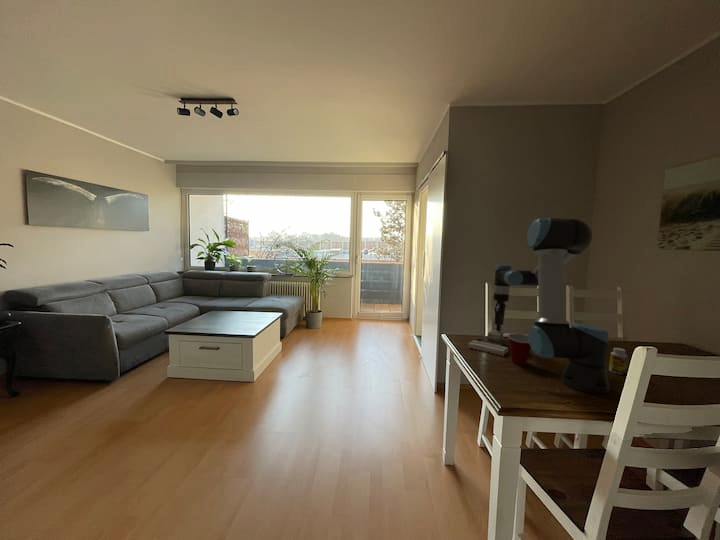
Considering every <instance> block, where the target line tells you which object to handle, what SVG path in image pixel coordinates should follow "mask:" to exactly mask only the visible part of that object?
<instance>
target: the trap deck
mask: <svg viewBox="0 0 720 540" xmlns="http://www.w3.org/2000/svg"><path fill="white" fill-rule="evenodd" d="M487 339H488V335H483V334H481V335H479V336H478V337H477V338H476V340H472V341H469V343H468V349H470V348H473V349H472V350H475V349H477V350H476V351H479V350H481V351H480V352H483V351H485V352H484V353H488V352H489V353H488V354H492V353H493V355H496V354H497V355H496V356H500V355H501V357H505V356H506V355H507V354H508V353H509V352H511V350H510V341H509V339H503V340H502V341H501V342H500V343H498V342H494V341H489V340H487ZM508 351H509V352H508ZM507 352H508V353H507ZM506 353H507V354H506ZM505 354H506V355H505ZM504 355H505V356H504Z"/></svg>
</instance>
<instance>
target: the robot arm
mask: <svg viewBox="0 0 720 540" xmlns="http://www.w3.org/2000/svg"><path fill="white" fill-rule="evenodd" d="M592 239H593V233H592V229H591V228H590V226H589V225H588V224H587V223H586V222H585V221H583V220H581V219H577V218H555V217H544V218H543V217H541V218H536V219H535V220H534V221H533V222H532V223H531V225H530V226H529V228H528V230H527V235H526V244H527V246H528V247H530V248H532V253H533V254H534V255H535V256H536V257H537V266H536V267H535V268H534V269H533V270H520V269H512V267H511V264H496V266H495V270H494V272H495V273H494V286H492V287H493V291H494V293H493V300H494V301H496V304H495V307H494V325H495V331H499V332H503V331H502V330H503V325H505V323H504V320H505V313H506V307H507V305H506V304H505V303H506V302H509V300H510V295H509V294H510V286H513V287H516V286H530V287H531V286H534V287H537V288H538V289H537V292H538V294H537V296H538V297H537V298H538V302H537V303H538V317H537V318H536V319H535V320H534V325H532V326H530V327H529V329H528V333H527V335H528V339H529V344H530V346H531V350H532V351H533V353H534V354H535V355H536V356H538V357H541V358H549V359H553V358H554V359H568V361H567V364H566V366H565V368H564V369H563V371H562V373H561V382H562V383H563V384H564V385H566V386H568V387H569V388H571V389H575V390H578V391H580V392H583V393H584V392H585V393H591V394H595V393H596V394H598V393H605V394H608V393H609V392H610V382H609V378H608V375H607V371H606V366H607V365H606V364H607V358H608V346H609V343H610V341H609V333H608V331H606V330H605V329H602V328H600V327H597V326H595V325H594V326H593V325H588V324H585V323H579V322H573V323H572V324H571V325H570V322H569V321H568V320H567V319H566V317H565V289H564V288H565V287H564V283H565V282H564V277H565V276H564V265H566V263H568V262H569V261H570V260H571V259H572V258H573V257H574V256H576V255H580V254H582V253H583V252H585V251H586V250H587V248H589V246H590V245H591V243H592V241H593V240H592ZM570 326H571V327H570ZM607 392H608V393H607Z"/></svg>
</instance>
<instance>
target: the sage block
mask: <svg viewBox="0 0 720 540" xmlns="http://www.w3.org/2000/svg"><path fill="white" fill-rule="evenodd" d="M487 336H488V339H487V340H489V341H494V342H498V343H500V342H501V341H502V340H504V332H503V331H502V332H499V331H496V330H493V329H492V330H490V331H488V332H487Z"/></svg>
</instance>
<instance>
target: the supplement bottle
mask: <svg viewBox="0 0 720 540" xmlns="http://www.w3.org/2000/svg"><path fill="white" fill-rule="evenodd" d="M627 362H628V355H627V354H626V349H624V348H620V347H613V351H611V352H610V357H609V365H608V370H609V371H610V372H611V373H612V374H613V373H614V374H616V373H617V375H624V374H623V373H625V374H626V370H627Z"/></svg>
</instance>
